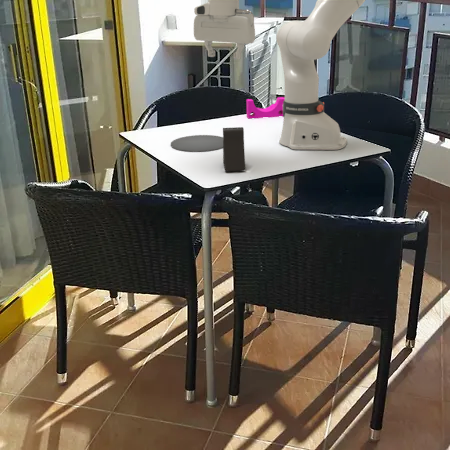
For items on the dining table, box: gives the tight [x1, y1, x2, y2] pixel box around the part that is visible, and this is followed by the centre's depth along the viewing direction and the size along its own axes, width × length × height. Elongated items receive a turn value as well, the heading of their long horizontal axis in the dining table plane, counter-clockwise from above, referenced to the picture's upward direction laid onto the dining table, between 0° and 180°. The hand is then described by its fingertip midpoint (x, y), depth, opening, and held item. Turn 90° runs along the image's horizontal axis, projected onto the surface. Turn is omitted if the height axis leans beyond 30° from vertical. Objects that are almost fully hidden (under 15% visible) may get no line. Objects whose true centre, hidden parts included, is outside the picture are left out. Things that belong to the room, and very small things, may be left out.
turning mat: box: [170, 134, 223, 153], centre depth 217 cm, size 20×20×1 cm
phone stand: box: [222, 126, 246, 173], centre depth 190 cm, size 9×6×12 cm, turn 4°
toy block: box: [245, 96, 285, 120], centre depth 251 cm, size 15×6×8 cm, turn 99°
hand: (224, 57), depth 189 cm, fingers open, 8 cm apart
